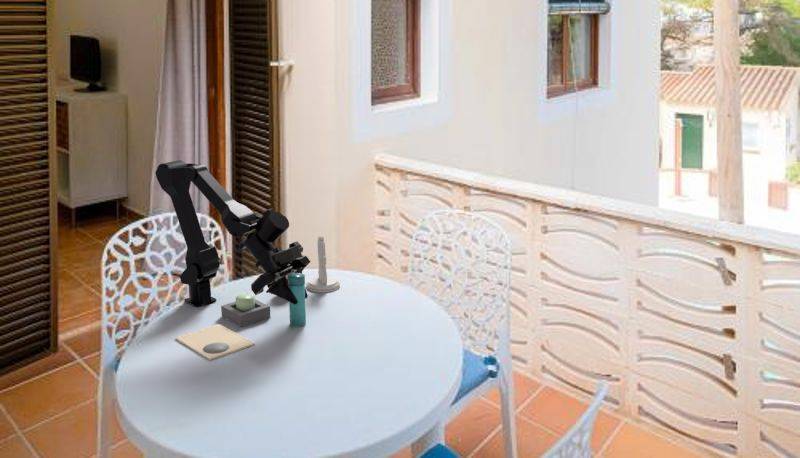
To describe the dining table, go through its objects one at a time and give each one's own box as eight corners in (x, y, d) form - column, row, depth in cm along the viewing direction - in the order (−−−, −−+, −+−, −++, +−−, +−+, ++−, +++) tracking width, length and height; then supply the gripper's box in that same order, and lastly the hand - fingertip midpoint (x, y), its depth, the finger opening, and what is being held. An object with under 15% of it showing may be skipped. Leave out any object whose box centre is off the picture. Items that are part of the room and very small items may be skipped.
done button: (232, 309, 184) (231, 297, 183) (248, 304, 187) (247, 292, 186) (242, 314, 181) (242, 301, 180) (258, 309, 184) (258, 297, 183)
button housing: (221, 316, 184) (221, 305, 184) (251, 307, 190) (250, 297, 190) (240, 326, 178) (240, 315, 177) (270, 317, 184) (270, 306, 184)
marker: (286, 323, 180) (284, 275, 177) (299, 319, 183) (298, 271, 180) (296, 328, 177) (294, 279, 174) (309, 323, 180) (308, 275, 177)
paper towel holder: (309, 293, 201) (308, 243, 197) (303, 282, 210) (302, 234, 206) (343, 290, 204) (342, 240, 200) (336, 279, 213) (335, 231, 209)
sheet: (175, 339, 171) (175, 337, 171) (219, 325, 179) (219, 323, 179) (209, 360, 160) (209, 358, 160) (254, 344, 168) (254, 343, 168)
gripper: (258, 243, 168) (298, 295, 166) (303, 225, 184) (340, 272, 182) (234, 269, 173) (272, 319, 171) (279, 249, 189) (315, 295, 187)
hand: (301, 300), depth 178 cm, fingers closed on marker, 4 cm apart
